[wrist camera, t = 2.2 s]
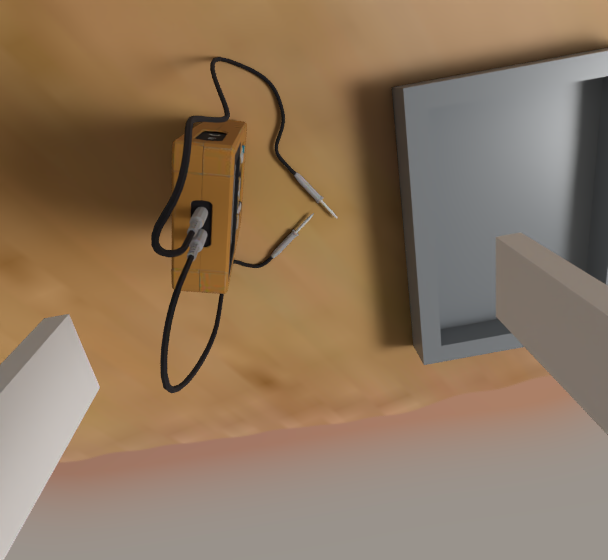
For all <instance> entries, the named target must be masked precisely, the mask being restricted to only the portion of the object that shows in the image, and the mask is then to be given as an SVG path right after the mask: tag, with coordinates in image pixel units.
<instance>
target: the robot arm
mask: <svg viewBox="0 0 608 560" xmlns="http://www.w3.org/2000/svg"><path fill="white" fill-rule="evenodd" d="M496 317H497V318H498V319H499V320H500V321H501V323H502V324H503V325H504V326H505V327H506V328H507V329H508V330H509V331H510V332H511V333H512V334H513V335H514V336H515V337H516V338H517V339H518V341H519V342H520V343H521V344H522V345H523V346H524V347H525V348H526V349H527V350H528V351H529V352H530V353H531V354H532V355H533V356H534V357H535V359H536V360H537V361H538V362H539V363H540V364H541V365H542V366H543V367H544V368H545V369H546V370H547V371H548V372H549V373H550V374H551V375H552V376H553V378H554V379H555V380H556V381H557V382H558V383H559V384H560V385H561V386H562V387H563V388H564V389H565V390H566V391H567V392H568V393H569V394H570V396H571V397H572V398H573V399H574V400H575V401H576V402H577V403H578V404H579V405H580V406H581V407H582V408H583V409H584V410H585V411H586V412H587V414H588V415H589V416H590V417H591V418H592V419H593V420H594V421H595V422H596V423H597V424H598V425H599V426H600V427H601V428H602V429H603V430H604V432H605V433H606V434H607V435H608V286H607V285H606V284H604V283H602V282H601V281H599V280H597V279H596V278H594V277H593V276H591V275H589V274H588V273H586V272H584V271H583V270H581V269H580V268H578V267H576V266H575V265H573V264H571V263H570V262H568V261H567V260H565V259H563V258H562V257H560V256H558V255H557V254H555V253H554V252H552V251H550V250H549V249H547V248H545V247H544V246H542V245H541V244H539V243H537V242H536V241H534V240H532V239H531V238H529V237H528V236H526V235H524V234H523V233H521V232H520V233H515V234H509V235H504V236H498V237H496ZM99 388H100V387H99V384H98V382H97V380H96V377H95V375H94V372H93V370H92V368H91V365H90V363H89V361H88V358H87V356H86V353H85V351H84V349H83V346H82V344H81V342H80V339H79V337H78V334H77V332H76V330H75V327H74V325H73V323H72V320H71V318H70V315H69V314H66V315H61V316H55V317H50V318H44V319H43V320H42V321H41V322H40V323H39V324H38V326H37V327H36V328H35V329H34V330H33V331H32V332H31V333H30V334H29V335H28V336H27V337H26V338H25V339H24V340H23V341H22V342H21V343H20V344H19V345H18V347H17V348H16V349H15V350H14V351H13V352H12V353H11V354H10V355H9V356H8V357H7V358H6V359H5V360H4V361H3V362H2V363H1V364H0V560H4V558H5V556H6V555H7V553H8V551H9V549H10V548H11V546H12V544H13V542H14V540H15V538H16V537H17V535H18V533H19V531H20V530H21V528H22V526H23V524H24V523H25V521H26V519H27V517H28V515H29V514H30V512H31V510H32V508H33V506H34V504H35V503H36V501H37V499H38V497H39V496H40V494H41V492H42V490H43V488H44V487H45V485H46V483H47V481H48V480H49V478H50V476H51V474H52V472H53V471H54V469H55V467H56V465H57V463H58V462H59V460H60V458H61V456H62V454H63V453H64V451H65V449H66V447H67V446H68V444H69V442H70V440H71V438H72V437H73V435H74V433H75V431H76V429H77V428H78V426H79V424H80V422H81V420H82V419H83V417H84V415H85V413H86V411H87V410H88V408H89V406H90V404H91V402H92V401H93V399H94V397H95V395H96V394H97V392H98V390H99Z"/></svg>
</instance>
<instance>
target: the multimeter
mask: <svg viewBox="0 0 608 560" xmlns="http://www.w3.org/2000/svg"><path fill="white" fill-rule="evenodd" d="M218 61H223V62H228V63H231V64H233V65H236V66H239V67H241V68H244V69H246V70H248V71H250V72H252V73H254V74H256V75H257V76H259V77H260V78H262V79H263V80H264V81H265V82H267V83H268V84H269V86H270V87H271V88H272V90H273V91H274V93H275V95H276V98H277V100H278V104H279V107H280V110H281V117H282V122H281V127H280V131H279V134H278V136H277V139H276V143H275V153H276V155H277V157H278V158H279V160H280V161H281V162H282V163H283V164H284V165H285V166H286V168H287V169H288V170H289V171H290V172H291V173H292V174H294V177H295V178H296V180H297V181H298V182H299V183H300V184H301V185H302V186H303V187H304V189H305V190H306V191H307V192H308V193H309V194H310V195H311V196H312V197H313V198H314V199H315V200H316V202H317V203H319V202H321V203H322V205H323V206H324V207H325V208H326V209H327V210H328V211H329V212H330V213H331V214H332V215H333V216H334V217H335V218H337V216H336V215H335V213H334V212H333V211H332V210H331V209H330V208H329V207H328V206H327V205H326V204H325V203H324V202H323V201H322V199H323V197H322V196H320V195H319V194H318V193H317V192H316V191H315V189H314V188H313V187H312V186H311V185H310V184H309V183H308V182H307V181H306V180H305V179H304V178H303V177H302V176H301V175H300V174H298V173H297V172H295V171H294V170H293V169H292V168H291V167H290V166H289V165H288V164H287V163H286V162H285V161H284V159H283V158H282V157H281V156H280V154H279V152H278V144H279V141H280V138H281V135H282V132H283V129H284V123H285V114H284V109H283V105H282V102H281V99H280V96H279V94H278V92H277V90H276V88H275V87H274V85H273V84H272V83H271V82H270V81H269V80H268V79H267V78H266V77H265V76H264V75H262V74H261V73H259V72H257V71H256V70H254V69H252V68H250V67H248V66H246V65H243V64H241V63H238V62H236V61H233V60H230V59H226V58H222V57H217V58H213V60H212V62H211V64H210V70H211V74H212V78H213V81H214V84H215V87H216V89H217V92H218V95H219V97H220V100H221V102H222V105H223V108H224V113H225V116H223V117H205V116H191V117H189V118H188V120H187V122H186V126H185V134H184V135H182V136H181V137H179V138H178V139H176V140H175V141H174V142H173V144H172V195H171V197H170V200H169V202H168V203H167V205H166V207H165V208H164V210H163V212H162V213H161V215H160V217H159V218H158V220H157V222H156V224H155V226H154V229H153V232H152V235H151V240H152V247H153V249H154V251H155V252H156V253H158V254H159V255H162V256H165V257H172V270H171V273H172V288H173V289H174V292H173V295H172V298H171V302H170V305H169V309H168V313H167V317H166V321H165V326H164V332H163V339H162V346H161V379H162V383H163V387H164V389H166V390H167V391H168V392H170V393H175V392H178V391H180V390H181V389H182V388H183V387H185V386H186V385H187V384H188V383H189V382H190V381H191V380H192V378H193V377H194V376H195V375H196V373H197V372H198V370H199V369H200V367H201V366H202V364H203V362H204V360H205V359H206V357H207V355H208V353H209V351H210V349H211V347H212V344H213V342H214V339H215V337H216V334H217V330H218V327H219V322H220V316H221V310H222V303H223V296H224V294H225V293H226V292H227V291H228V286H229V281H230V276H231V270H232V265H233V264H234V263H236V264H240V265H242V266H246V267H251V268H260V267H263V266H264V265H266V264H267V263H269V262H270V261H271V260H272V259H273V258H275V257H276V256H277V255H279V254H280V253H281V252H282V250H283V249H284V248H285V247H286V246H287V245H288V244H289V243H290V242H291V241H292V240H293V239H294V238H295V237H296V236H298V235H299V234H298V233H297V232H298V231H299V230H300V229H301V228H302V227H303V226H304V225H305V224H306V223H307V222H308V221H309V220H310V219H311V217H312V216H313V214H314V213H313V214H312V215H310V216H309V217H308V218H307V219H306V220H305V221H304V222H303V223H302V224H301V225H300V226H299V227H298V229H297V230H296V231H295V230H294V229H293V230H292V232H291V233H290V234H289V235H288V236H287V237H286V239H285V240H284V241H283V242H282V243H281V244H280V245H279V246H278V247H277V248H276V249H275V250H274V251H273V253H272V254H271V256H270V257H269V258H268V259H267V260H266V261H265V262H263V263H262V264H258V265H252V264H247V263H244V262H241V261H237V260H234V255H235V250H236V244H237V239H238V234H239V228H240V223H241V213H242V195H243V179H244V163H245V146H246V131H247V124H246V123H245V122H241V121H233V120H228V119H229V117H230V112H229V108H228V105H227V103H226V100H225V98H224V95H223V93H222V90H221V88H220V85H219V82H218V80H217V77H216V73H215V63H216V62H218ZM195 122H202V123H200V124H199V125H197V126H195V127H194V128H193V123H195ZM171 213H172V250H165V249H163V248H162V247H161V246H160V244H159V236H160V233H161V230H162V228H163V226H164V224H165V223H166V221H167V219H168V218H169V216H170V214H171ZM337 219H338V218H337ZM181 291H191V292H205V293H219V294H220V296H219V303H218V309H217V315H216V320H215V325H214V328H213V332H212V334H211V337H210V340H209V342H208V344H207V346H206V348H205V350H204V352H203V354H202V356H201V357H200V359H199V361H198V362H197V364H196V365H195V367H194V368H193V370H192V371H191V372H190V374H189V375H188V376H187V377H186V378H185V379H184V381H182V382H181V383H180V384H179V385H176V386H171V385H170V383H169V378H168V374H167V354H168V343H169V336H170V330H171V325H172V319H173V315H174V311H175V307H176V304H177V301H178V297H179V294H180V292H181Z"/></svg>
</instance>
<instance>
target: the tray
mask: <svg viewBox="0 0 608 560" xmlns="http://www.w3.org/2000/svg"><path fill="white" fill-rule="evenodd" d="M392 97H393V109H394V121H395V133H396V145H397V156H398V168H399V180H400V192H401V204H402V216H403V228H404V240H405V252H406V264H407V275H408V287H409V299H410V311H411V323H412V335H413V346H414V348H415V349H416V351H417V353H418V355H419V357H420V359H421V361H422V362H423V364H424V365H427V364H432V363H438V362H443V361H449V360H454V359H460V358H465V357H471V356H476V355H482V354H487V353H493V352H498V351H504V350H509V349H515V348H520V347H524V346H523V345H522V344H521V343H520V342H519V341H518V339H517V338H516V337H515V336H514V335H513V334H512V333H511V332H510V331H509V330H508V329H507V328H506V327H505V326H504V325H503V324H502V323H501V321H500V320H499V319H498V318H497V317H496V237H498V236H504V235H509V234H515V233H520V232H521V233H523V234H524V235H526V236H528V237H529V238H531V239H532V240H534V241H536V242H537V243H539V244H541V245H542V246H544V247H545V248H547V249H549V250H550V251H552V252H554V253H555V254H557V255H558V256H560V257H562V258H563V259H565V260H567V261H568V262H570V263H571V264H573V265H575V266H576V267H578V268H580V269H581V270H583V271H584V272H586V273H588V274H589V275H591V276H593V277H594V278H596V279H597V280H599V281H601V282H602V283H604V284H606V285H607V286H608V48H603V49H598V50H592V51H587V52H581V53H576V54H571V55H565V56H560V57H554V58H549V59H543V60H538V61H532V62H527V63H522V64H516V65H511V66H505V67H500V68H494V69H489V70H483V71H478V72H473V73H467V74H462V75H456V76H451V77H445V78H440V79H435V80H429V81H424V82H418V83H413V84H407V85H402V86H396V87H392Z"/></svg>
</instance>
